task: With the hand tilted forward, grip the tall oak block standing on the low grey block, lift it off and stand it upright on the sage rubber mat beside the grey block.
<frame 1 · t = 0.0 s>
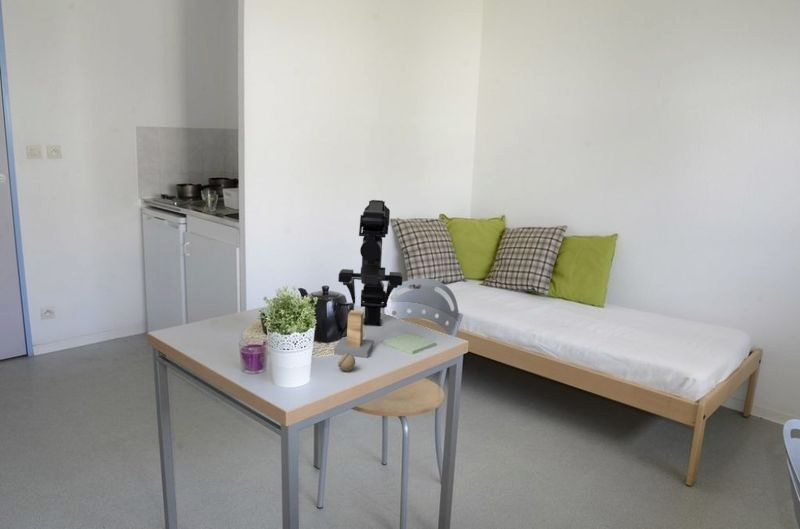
hand: (369, 305, 182), 15 cm above the table, tool pointing down, fingers open, 9 cm apart
door knob: (346, 371, 169), on the table
oak block: (354, 344, 185), point 2 cm above the table, touching grey block
grey block: (354, 350, 185), on the table
sage mat: (409, 344, 193), on the table
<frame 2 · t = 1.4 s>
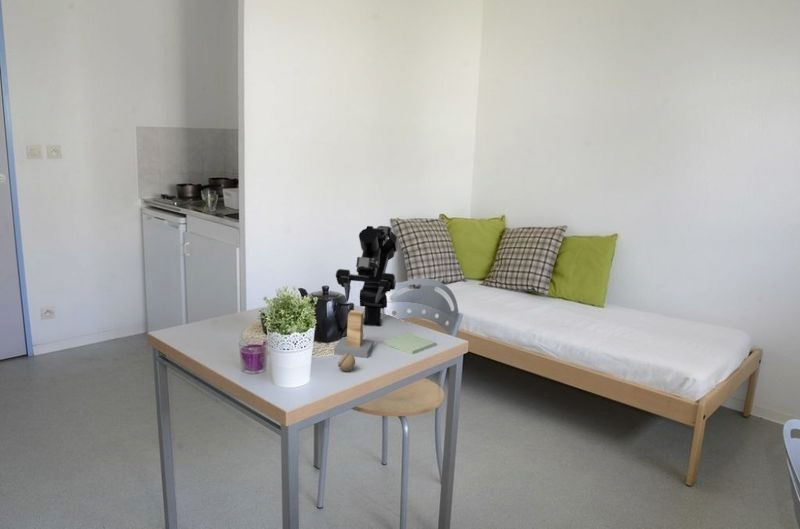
hand: (361, 302, 189), 13 cm above the table, tool tilted 45°, fingers open, 9 cm apart
nothing on the table moved.
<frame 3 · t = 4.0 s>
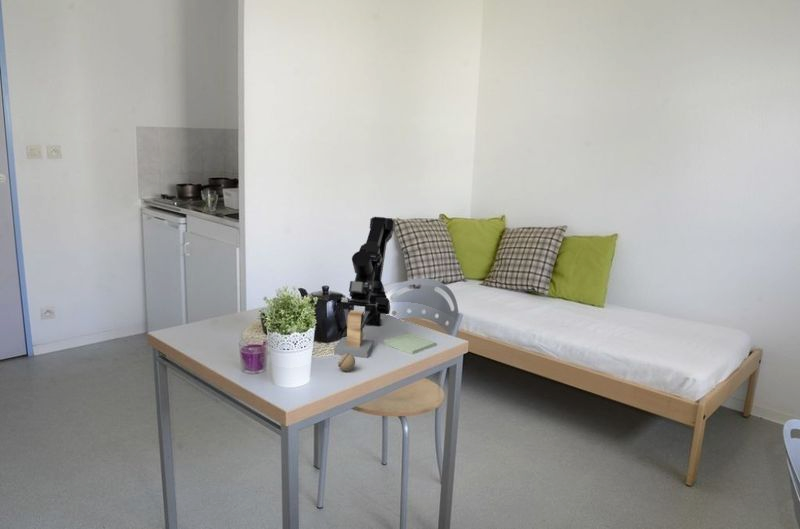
hand: (354, 328, 182), 8 cm above the table, tool tilted 45°, fingers closed on oak block, 4 cm apart
oak block: (354, 344, 185), point 2 cm above the table, touching grey block, gripper
everything else where it was.
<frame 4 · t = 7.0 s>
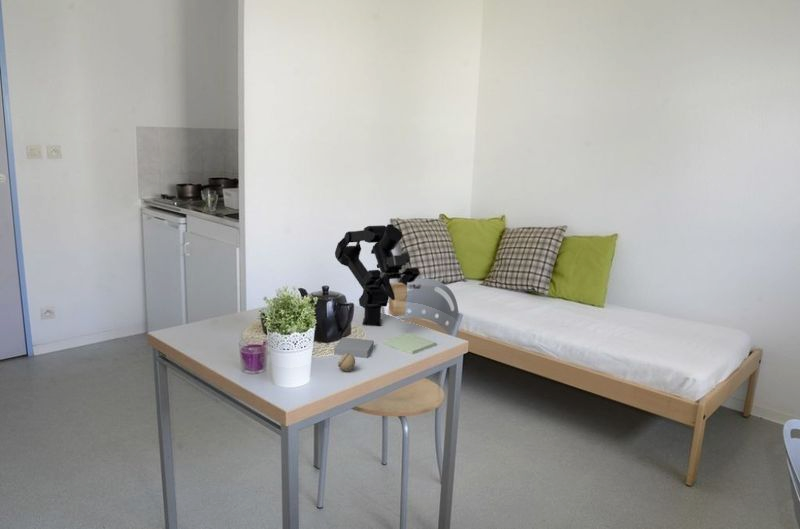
hand: (399, 298, 195), 14 cm above the table, tool tilted 45°, fingers closed on oak block, 4 cm apart
oak block: (396, 314, 197), point 8 cm above the table, touching gripper
everything else where it was.
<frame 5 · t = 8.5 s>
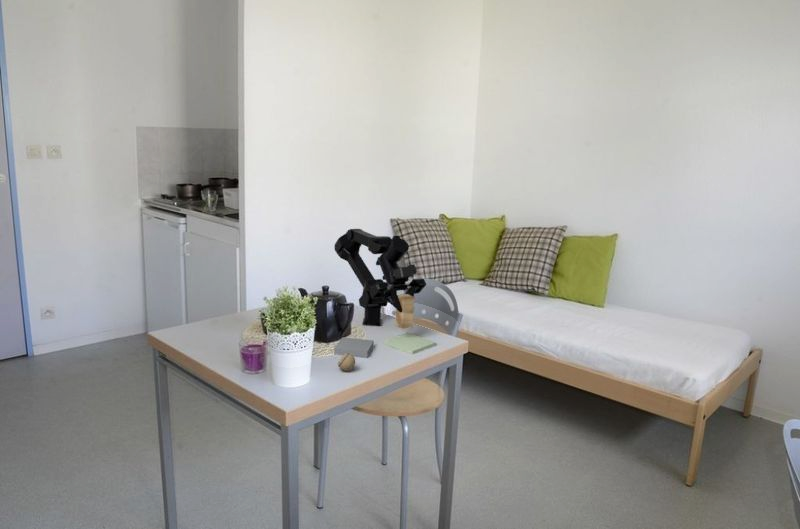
hand: (407, 310, 193), 10 cm above the table, tool tilted 45°, fingers closed on oak block, 4 cm apart
oak block: (403, 326, 195), point 5 cm above the table, touching gripper
everything else where it was.
when the fingers open (7 cm above the table, at t = 9.9 s): oak block stays where it is, resting on sage mat.
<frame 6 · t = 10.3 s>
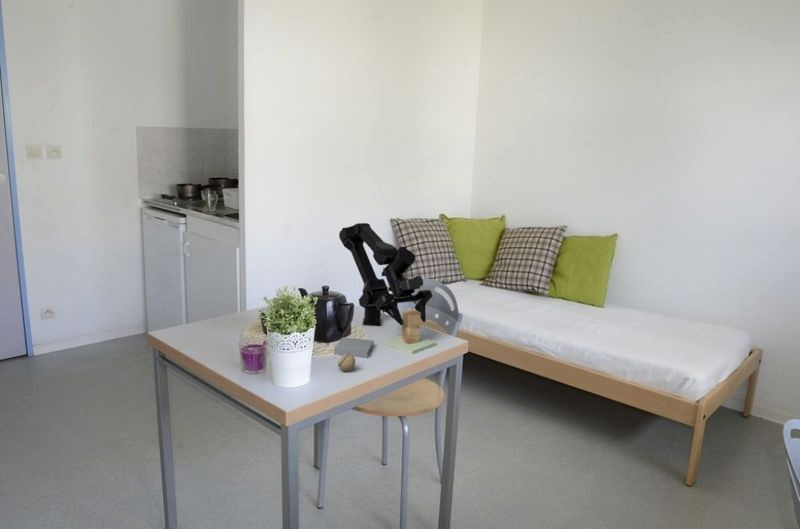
hand: (413, 323, 190), 8 cm above the table, tool tilted 45°, fingers open, 8 cm apart
oak block: (409, 341, 193), point 1 cm above the table, touching sage mat
everything else where it was.
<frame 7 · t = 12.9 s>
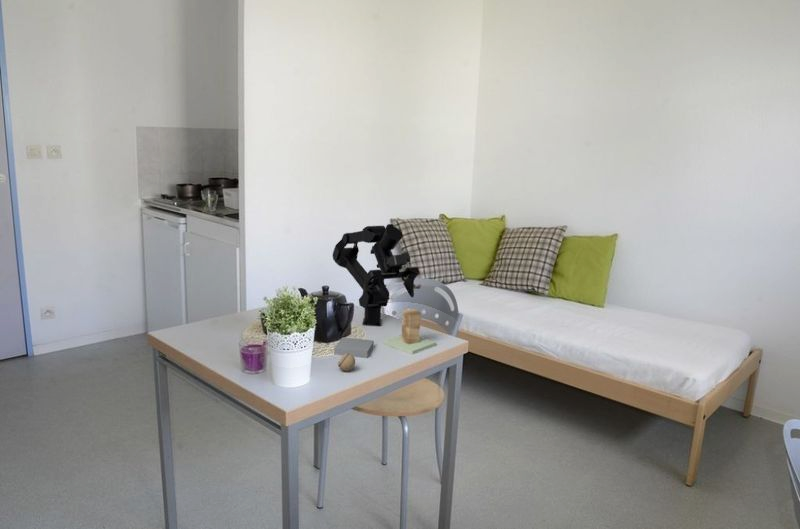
hand: (400, 298, 195), 14 cm above the table, tool tilted 45°, fingers open, 9 cm apart
nothing on the table moved.
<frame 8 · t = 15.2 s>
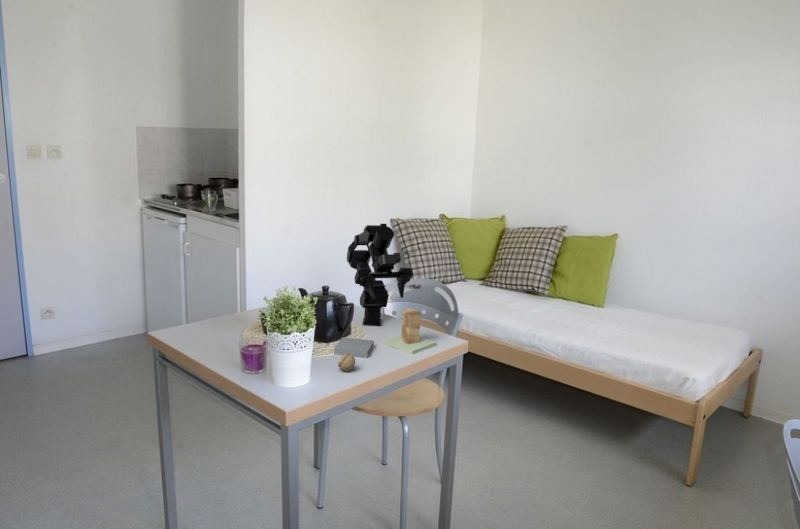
hand: (388, 298, 195), 14 cm above the table, tool tilted 45°, fingers open, 9 cm apart
nothing on the table moved.
at the end: oak block 0.0 cm off-centre on the sage mat, point 1.0 cm above the sage mat's base; oak block tilted 0°; the gripper is holding nothing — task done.
